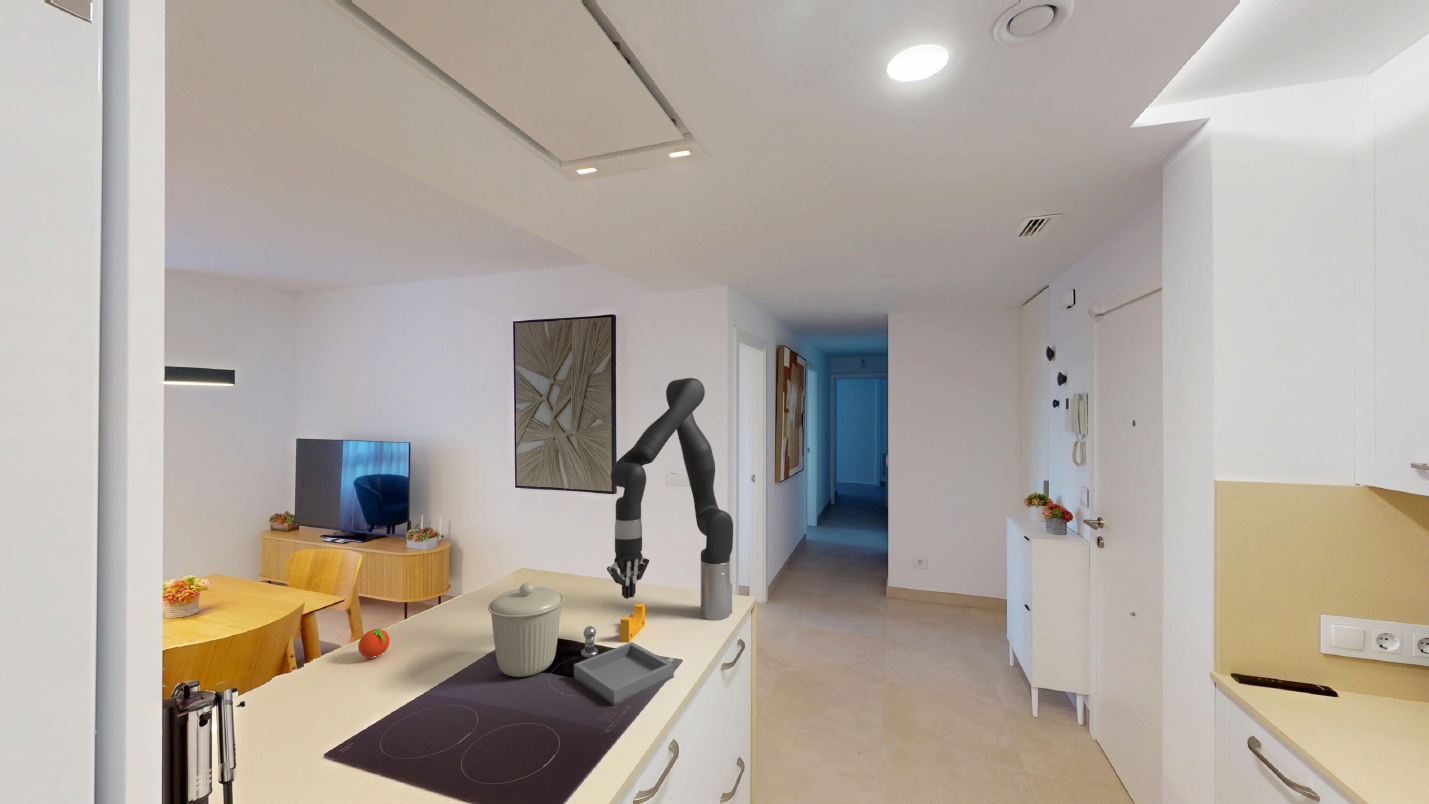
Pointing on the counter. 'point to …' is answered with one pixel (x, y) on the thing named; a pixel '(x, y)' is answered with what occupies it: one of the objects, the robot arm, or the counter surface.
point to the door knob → (589, 643)
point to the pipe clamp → (632, 623)
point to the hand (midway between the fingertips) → (628, 597)
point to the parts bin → (623, 672)
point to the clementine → (374, 643)
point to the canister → (526, 629)
